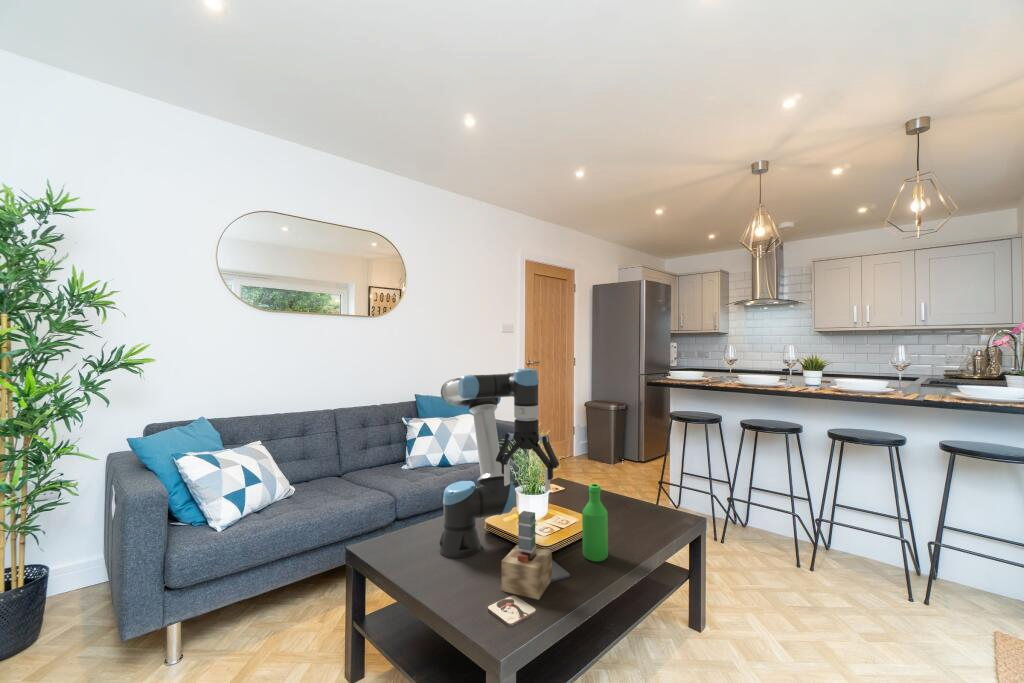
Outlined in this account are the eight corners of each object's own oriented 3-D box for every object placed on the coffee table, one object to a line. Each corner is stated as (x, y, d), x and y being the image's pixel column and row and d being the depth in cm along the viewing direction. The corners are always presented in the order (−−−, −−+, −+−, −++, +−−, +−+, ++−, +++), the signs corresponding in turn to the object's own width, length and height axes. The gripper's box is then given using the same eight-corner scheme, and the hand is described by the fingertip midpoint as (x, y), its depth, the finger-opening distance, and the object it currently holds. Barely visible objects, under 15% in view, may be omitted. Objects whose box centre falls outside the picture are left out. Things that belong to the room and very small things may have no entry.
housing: (501, 590, 134) (501, 555, 134) (517, 572, 145) (517, 539, 145) (538, 599, 129) (538, 563, 129) (552, 579, 140) (551, 546, 140)
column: (518, 587, 136) (517, 515, 136) (523, 580, 140) (523, 510, 140) (531, 590, 134) (530, 517, 134) (536, 583, 138) (536, 512, 138)
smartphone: (547, 555, 155) (571, 574, 142) (547, 558, 155) (571, 577, 142) (528, 560, 152) (551, 580, 138) (528, 563, 152) (551, 583, 138)
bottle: (608, 563, 150) (607, 490, 150) (582, 561, 151) (581, 488, 152) (607, 551, 158) (607, 482, 158) (583, 549, 160) (582, 480, 160)
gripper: (485, 418, 139) (485, 485, 139) (561, 423, 129) (561, 496, 129) (495, 414, 146) (496, 479, 146) (568, 419, 136) (569, 488, 135)
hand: (526, 487), depth 137 cm, fingers open, 13 cm apart
